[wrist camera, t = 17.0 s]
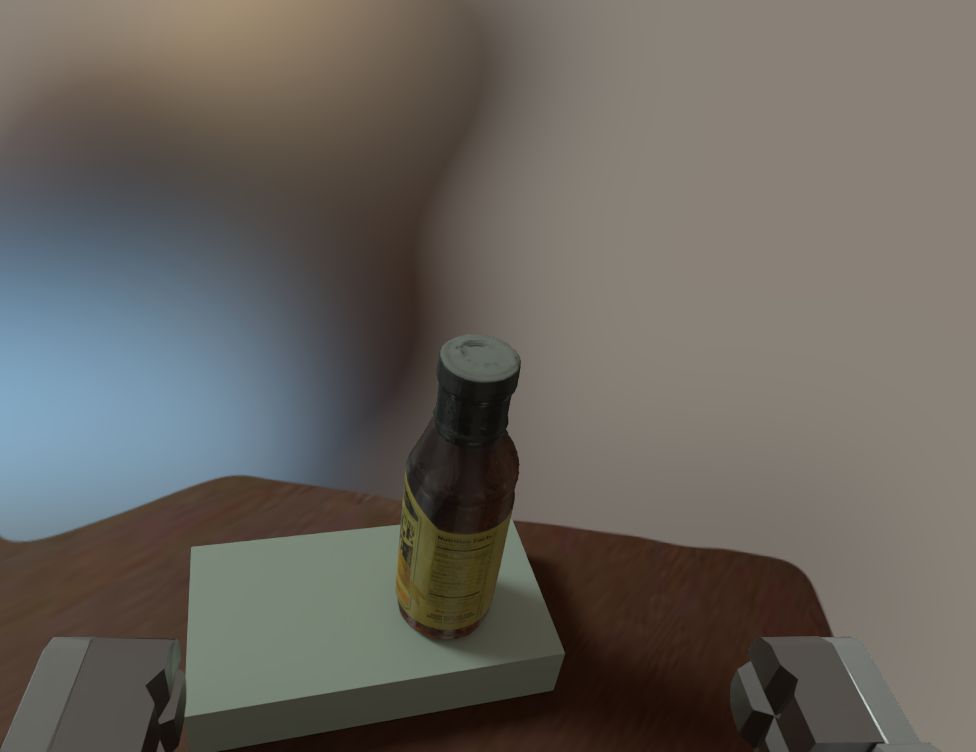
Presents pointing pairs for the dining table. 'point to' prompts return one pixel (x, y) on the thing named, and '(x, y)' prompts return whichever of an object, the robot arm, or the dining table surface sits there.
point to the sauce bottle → (459, 491)
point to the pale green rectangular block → (344, 640)
